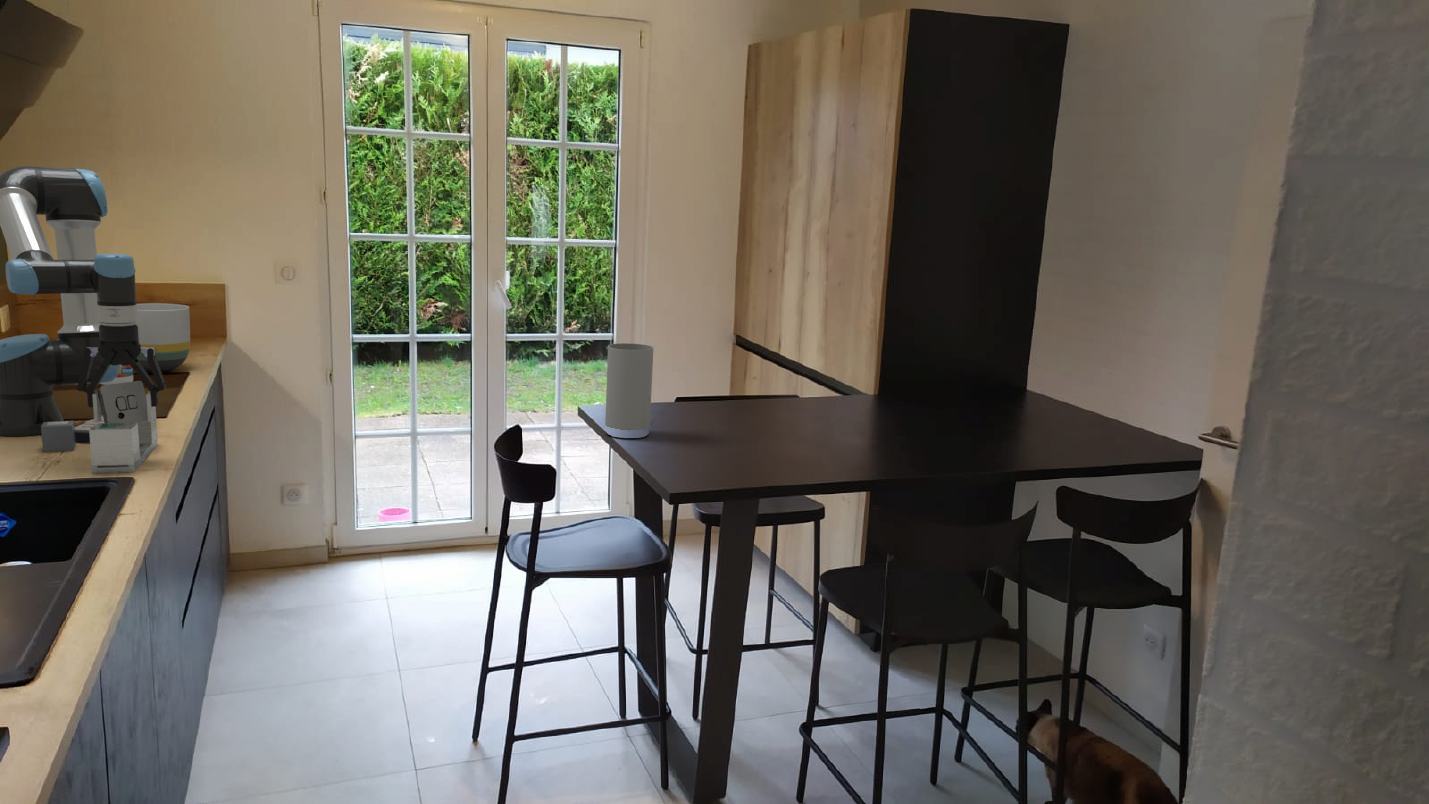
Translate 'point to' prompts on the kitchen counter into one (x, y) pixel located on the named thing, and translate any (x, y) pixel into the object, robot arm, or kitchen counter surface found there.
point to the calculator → (85, 431)
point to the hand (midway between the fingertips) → (124, 420)
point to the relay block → (58, 436)
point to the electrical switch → (123, 402)
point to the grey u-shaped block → (121, 445)
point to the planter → (164, 334)
